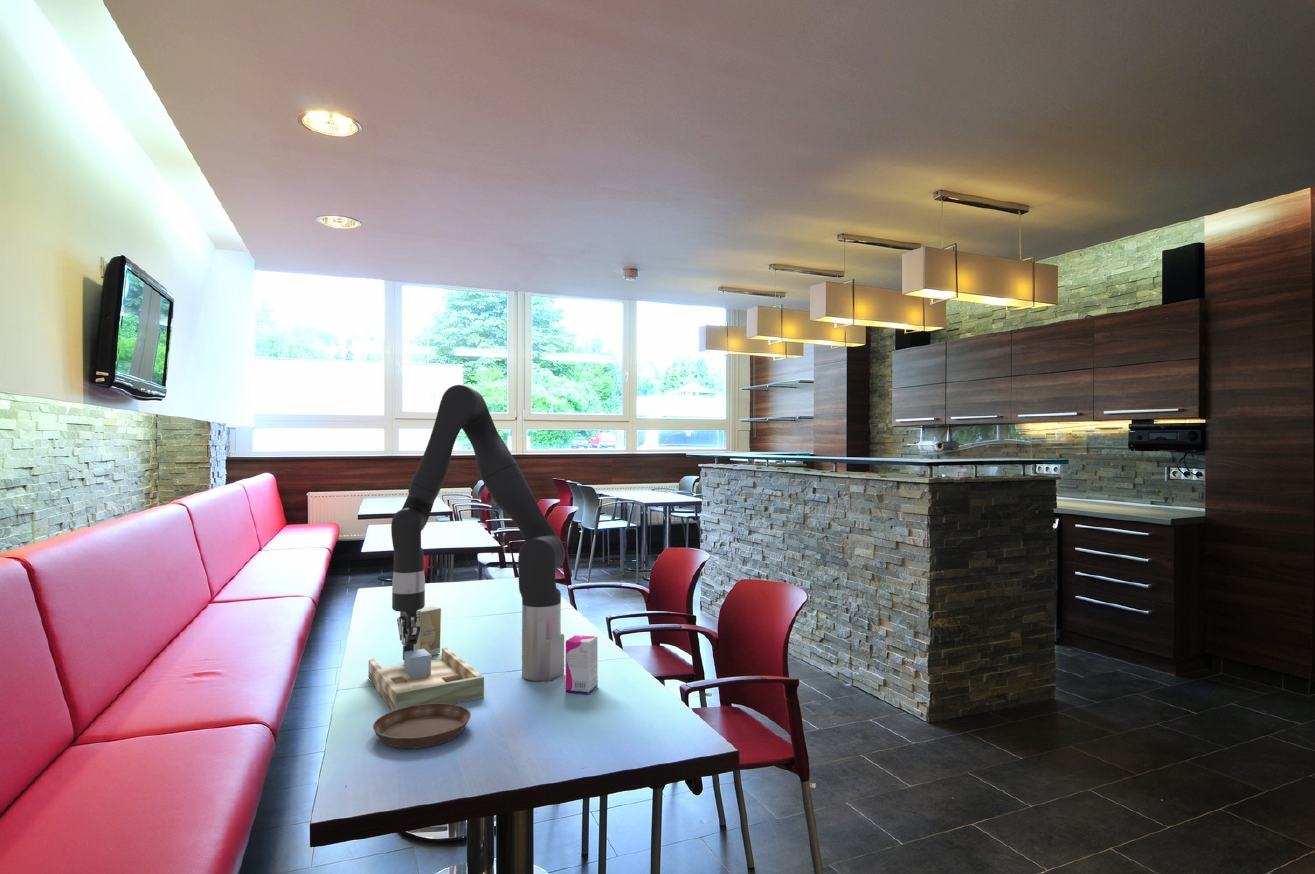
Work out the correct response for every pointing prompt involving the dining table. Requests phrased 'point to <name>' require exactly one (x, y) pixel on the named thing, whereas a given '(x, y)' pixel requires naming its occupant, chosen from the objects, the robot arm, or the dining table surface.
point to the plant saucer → (421, 725)
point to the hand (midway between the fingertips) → (408, 660)
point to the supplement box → (581, 664)
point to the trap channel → (428, 683)
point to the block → (417, 663)
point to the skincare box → (429, 629)
